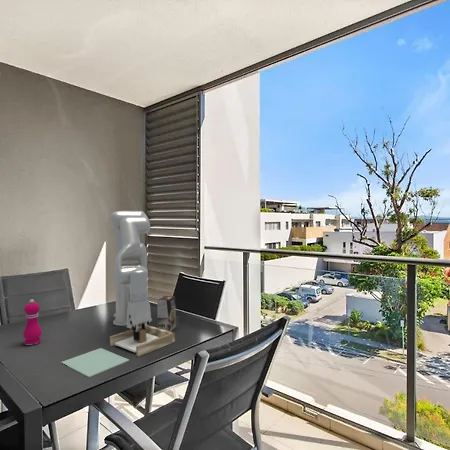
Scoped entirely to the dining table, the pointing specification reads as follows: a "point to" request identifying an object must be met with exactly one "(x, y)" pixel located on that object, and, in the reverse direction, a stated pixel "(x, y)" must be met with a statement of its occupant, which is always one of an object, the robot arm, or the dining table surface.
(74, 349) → the dining table surface
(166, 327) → the coffee box
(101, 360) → the sage mat
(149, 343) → the open-sided wooden frame
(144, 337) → the cover plate
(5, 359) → the dining table surface
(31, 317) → the pepper mill
